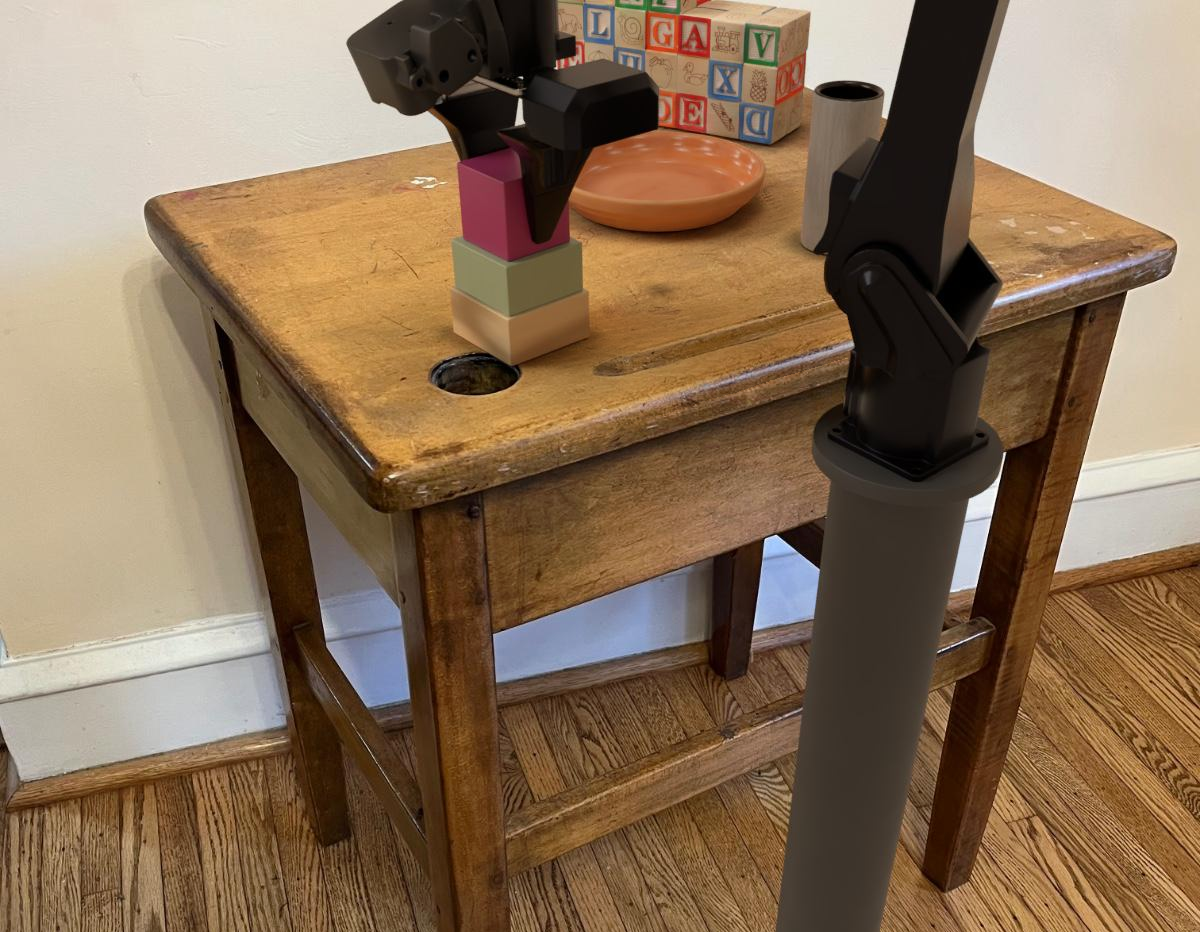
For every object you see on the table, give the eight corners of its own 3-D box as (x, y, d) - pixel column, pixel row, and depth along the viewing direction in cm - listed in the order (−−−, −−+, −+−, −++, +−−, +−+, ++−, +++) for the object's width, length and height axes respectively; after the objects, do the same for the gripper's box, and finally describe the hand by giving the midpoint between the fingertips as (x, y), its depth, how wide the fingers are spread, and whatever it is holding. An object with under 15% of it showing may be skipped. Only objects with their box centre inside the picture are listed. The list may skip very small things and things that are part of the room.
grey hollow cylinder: (875, 238, 87) (895, 86, 80) (849, 261, 84) (868, 104, 77) (816, 226, 89) (831, 76, 82) (789, 247, 86) (802, 93, 79)
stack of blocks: (803, 126, 106) (816, -31, 99) (771, 147, 102) (783, -15, 95) (592, 91, 115) (590, -56, 108) (555, 109, 111) (550, -43, 104)
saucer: (604, 155, 101) (604, 118, 99) (791, 183, 96) (794, 143, 94) (512, 223, 90) (510, 182, 88) (717, 258, 84) (719, 215, 83)
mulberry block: (570, 241, 72) (568, 164, 69) (508, 262, 69) (503, 183, 67) (523, 219, 74) (520, 144, 72) (462, 239, 72) (456, 162, 69)
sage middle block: (583, 290, 74) (582, 242, 72) (509, 317, 71) (506, 267, 69) (527, 262, 77) (525, 215, 75) (454, 287, 74) (450, 238, 72)
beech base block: (590, 337, 75) (589, 290, 73) (511, 367, 72) (508, 320, 70) (530, 305, 79) (528, 260, 77) (453, 332, 76) (449, 286, 74)
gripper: (265, -77, 64) (312, 219, 73) (475, -17, 52) (498, 324, 62) (445, -103, 69) (467, 175, 79) (669, -54, 58) (663, 264, 67)
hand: (515, 229), depth 72 cm, fingers closed on mulberry block, 4 cm apart
